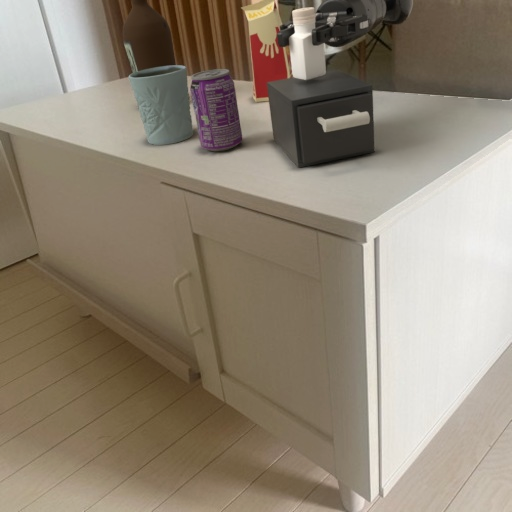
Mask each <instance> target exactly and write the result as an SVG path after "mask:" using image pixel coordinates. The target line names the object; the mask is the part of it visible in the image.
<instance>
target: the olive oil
mask: <svg viewBox="0 0 512 512" xmlns="http://www.w3.org/2000/svg"><path fill="white" fill-rule="evenodd" d="M130 1H131V6H132V7H131V9H130V11H129V13H128V15H127V17H126V19H125V21H124V23H123V26H122V32H121V33H122V41H123V42H122V43H123V45H124V49H125V52H126V56H127V58H128V62H129V65H130V68H131V74H132V73H134V72H138V71H141V70H145V69H150V68H155V67H162V66H172V65H177V62H176V56H175V51H174V43H173V37H172V30H171V27H170V25H169V23H168V21H167V20H166V18H165V17H164V16H163V15H162V14H160V13H159V11H156V9H154V8H153V7H152V6H150V5H151V4H149V2H148V0H130Z"/></svg>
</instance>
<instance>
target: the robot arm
mask: <svg viewBox="0 0 512 512" xmlns="http://www.w3.org/2000/svg"><path fill="white" fill-rule="evenodd" d="M413 5H414V0H324V1H322V2H321V4H319V6H318V7H317V8H316V10H315V21H316V22H315V29H312V44H313V46H318V45H321V44H323V43H324V45H326V46H328V47H331V48H341V47H345V46H347V45H349V44H351V43H352V42H354V41H356V40H358V39H360V38H362V37H363V36H365V35H366V34H367V33H369V32H371V31H373V30H374V29H376V28H377V27H379V26H380V25H381V24H385V25H393V26H396V25H397V26H398V25H401V24H403V23H404V22H405V21H407V19H408V18H409V17H410V15H411V12H412V10H413ZM294 33H295V28H294V25H293V18H292V19H289V20H287V21H285V22H284V23H282V25H281V26H280V31H279V32H278V34H277V39H278V44H279V46H280V47H286V46H288V45H289V37H290V36H291V35H293V34H294Z"/></svg>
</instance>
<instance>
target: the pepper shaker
mask: <svg viewBox="0 0 512 512" xmlns="http://www.w3.org/2000/svg"><path fill="white" fill-rule="evenodd" d="M291 14H292V15H291V16H292V19H293V25H294V28H295V33H294V34H293V35H291V36H290V37H289V48H290V56H291V65H292V75H293V77H294V78H298V79H304V80H310V79H313V78H317V77H320V76H323V75H325V74H326V71H327V66H326V65H327V64H326V52H325V43H323V44H321V45H318V46H313V44H312V29H315V22H316V21H315V14H316V10H315V7H314V6H313V7H312V6H311V7H310V6H309V7H302V8H297V9H294V10H292V11H291Z"/></svg>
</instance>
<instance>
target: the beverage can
mask: <svg viewBox="0 0 512 512" xmlns="http://www.w3.org/2000/svg"><path fill="white" fill-rule="evenodd" d="M190 79H191V84H190V87H189V88H190V96H191V101H192V107H193V111H194V117H195V121H196V128H197V133H198V138H199V143H200V147H201V148H203V149H205V150H208V151H210V152H224V151H227V150H228V151H229V150H231V149H234V148H235V147H237V146H238V145H239V144H240V143H242V141H243V132H242V126H241V119H240V113H239V107H238V100H237V99H238V98H237V94H236V87H235V86H236V85H235V81H234V80H233V78H232V76H231V75H230V69H227V68H216V69H209V70H204V71H199V72H196V73H194V74H192V75H190Z"/></svg>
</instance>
